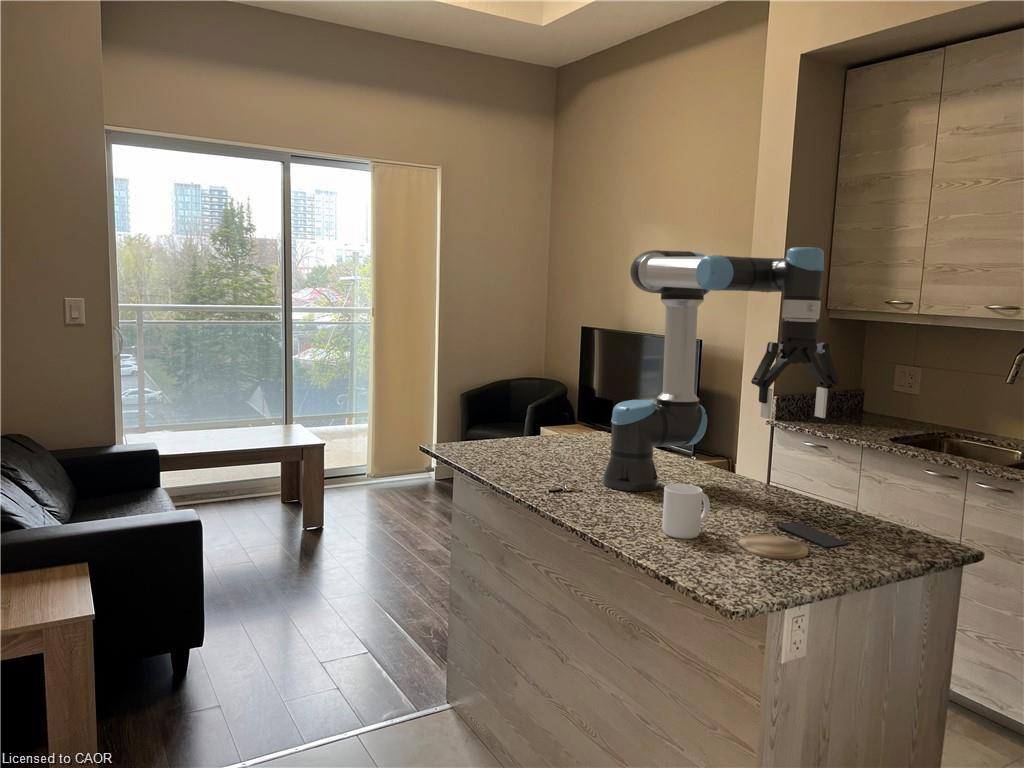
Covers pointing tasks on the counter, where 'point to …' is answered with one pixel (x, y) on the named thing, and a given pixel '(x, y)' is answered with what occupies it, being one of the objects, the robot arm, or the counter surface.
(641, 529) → the counter surface
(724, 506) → the counter surface
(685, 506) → the mug
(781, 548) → the coaster
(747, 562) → the counter surface
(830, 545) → the smartphone
